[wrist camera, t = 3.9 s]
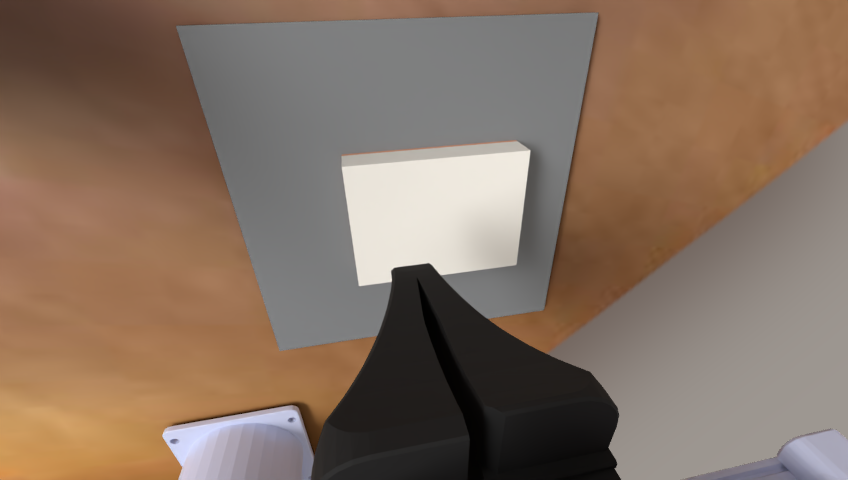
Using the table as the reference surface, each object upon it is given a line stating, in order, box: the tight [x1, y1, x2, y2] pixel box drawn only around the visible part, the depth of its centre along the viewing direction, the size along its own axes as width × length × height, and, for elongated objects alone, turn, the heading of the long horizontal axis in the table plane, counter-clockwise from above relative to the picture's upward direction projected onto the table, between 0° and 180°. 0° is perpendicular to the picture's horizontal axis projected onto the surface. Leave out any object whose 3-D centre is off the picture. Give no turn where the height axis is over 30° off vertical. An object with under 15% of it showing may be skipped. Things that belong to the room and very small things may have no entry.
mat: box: [176, 13, 598, 351], centre depth 18 cm, size 16×16×1 cm
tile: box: [342, 140, 531, 286], centre depth 18 cm, size 6×2×8 cm
